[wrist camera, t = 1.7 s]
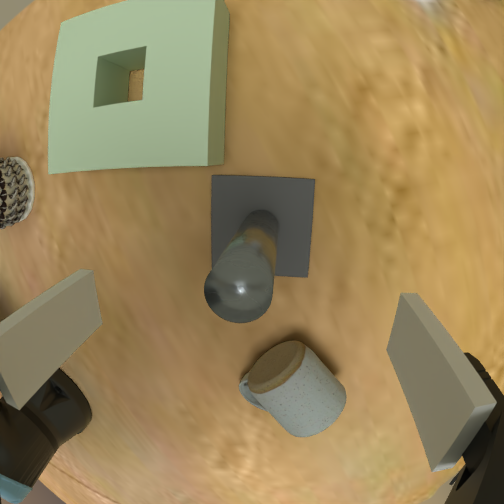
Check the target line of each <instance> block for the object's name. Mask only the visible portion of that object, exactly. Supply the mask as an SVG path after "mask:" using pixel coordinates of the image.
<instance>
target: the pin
mask: <svg viewBox="0 0 504 504" xmlns="http://www.w3.org/2000/svg"><path fill="white" fill-rule="evenodd" d="M278 234H279V223H278V220H277V218H276V217H275V216H274V215H273V214H272V213H271V212H269V211H267V210H255V211H253V212H251V213H250V214H248V215H247V217H246V218H245V220H244V221H243V223H242V224H241V226H240V227H239V229H238V230H237V232H236V233H235V235H234V236H233V238H232V239H231V241H230V242H229V244H228V245H227V247H226V248H225V250H224V251H223V253H222V255H221V256H220V258H219V259H218V261H217V262H216V264H215V265H214V267H213V268H212V270H211V271H210V273H209V275H208V276H207V278H206V281H205V285H204V294H205V298H206V301H207V303H208V305H209V307H210V308H211V309H212V310H213V312H214V313H216V314H217V315H218V316H219V317H221V318H223V319H225V320H227V321H230V322H235V323H247V322H251V321H254V320H256V319H258V318H259V317H261V316H262V315H263V314H264V313H265V312H266V311H267V309H268V308H269V306H270V304H271V301H272V294H273V284H274V275H275V265H276V255H277V245H278Z"/></svg>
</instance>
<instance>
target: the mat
mask: <svg viewBox="0 0 504 504" xmlns="http://www.w3.org/2000/svg"><path fill="white" fill-rule="evenodd" d="M314 187H315V179H304V178H287V177H266V176H235V175H212V197H211V239H212V268H213V267H214V265H215V264H216V262H217V261H218V259H219V258H220V256H221V255H222V253H223V251H224V250H225V248H226V247H227V245H228V244H229V242H230V241H231V239H232V238H233V236H234V235H235V233H236V232H237V230H238V229H239V227H240V226H241V224H242V223H243V221H244V220H245V218H246V217H247V215H248V214H250V213H251V212H253V211H255V210H267V211H269V212H271V213H272V214H273V215H274V216H275V217H276V218H277V220H278V223H279V234H278V245H277V255H276V265H275V275H274V276H289V277H307V278H308V268H309V257H310V245H311V232H312V219H313V204H314Z"/></svg>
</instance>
